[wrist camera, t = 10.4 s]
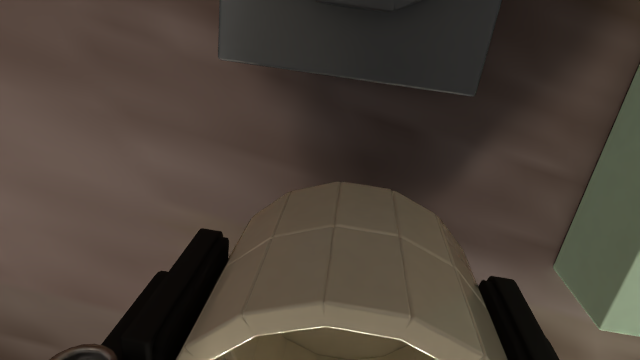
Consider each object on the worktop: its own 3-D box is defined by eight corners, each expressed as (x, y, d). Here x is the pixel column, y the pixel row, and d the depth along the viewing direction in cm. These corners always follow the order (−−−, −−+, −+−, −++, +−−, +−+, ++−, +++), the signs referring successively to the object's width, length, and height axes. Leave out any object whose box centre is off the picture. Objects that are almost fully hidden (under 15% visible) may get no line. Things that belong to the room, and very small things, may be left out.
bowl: (241, 156, 11) (148, 271, 6) (494, 196, 10) (598, 348, 6) (232, 342, 13) (162, 520, 9) (432, 377, 13) (469, 580, 8)
